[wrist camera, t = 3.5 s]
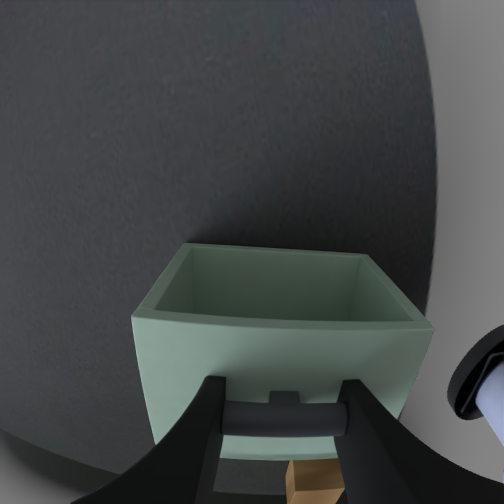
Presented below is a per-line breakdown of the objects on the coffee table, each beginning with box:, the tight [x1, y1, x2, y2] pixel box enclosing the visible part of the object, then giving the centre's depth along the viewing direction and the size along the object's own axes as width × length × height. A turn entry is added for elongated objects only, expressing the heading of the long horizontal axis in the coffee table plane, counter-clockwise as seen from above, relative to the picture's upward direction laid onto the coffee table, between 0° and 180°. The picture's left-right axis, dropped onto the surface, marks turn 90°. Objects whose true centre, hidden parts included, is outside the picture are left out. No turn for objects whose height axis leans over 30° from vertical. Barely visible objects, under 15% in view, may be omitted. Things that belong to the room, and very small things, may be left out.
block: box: [286, 458, 345, 504], centre depth 21 cm, size 4×4×4 cm
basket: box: [131, 243, 434, 460], centre depth 13 cm, size 10×10×7 cm
